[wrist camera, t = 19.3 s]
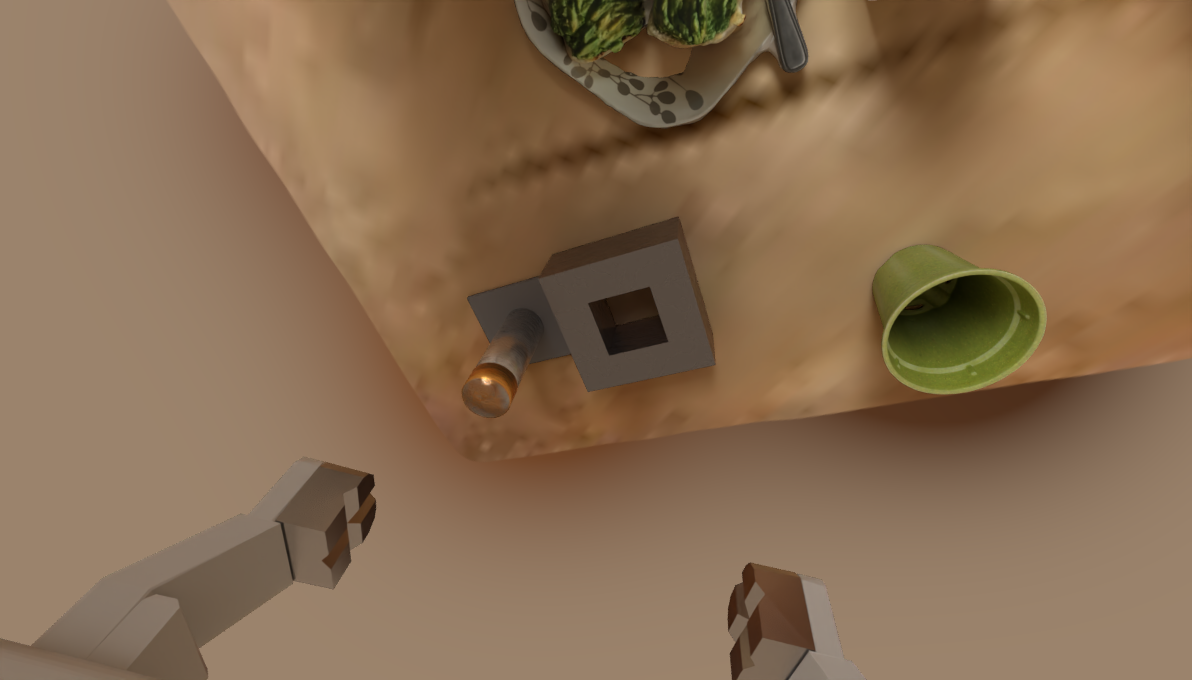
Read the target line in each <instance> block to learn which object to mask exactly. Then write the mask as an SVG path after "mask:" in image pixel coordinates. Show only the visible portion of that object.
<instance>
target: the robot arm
mask: <svg viewBox="0 0 1192 680" xmlns="http://www.w3.org/2000/svg"><path fill="white" fill-rule="evenodd" d="M374 486H375V482H374V475H372V474H369V473H366V472H362V471H358V470H354V469H350V468H346V467H343V466H339V465H335V464H332V463H328V462H324V461H320V460H316V459H312V458H307V457H302V458H301V459H299V460H297V461H296V462H295V463H294V464H293V465H292V466H291V467H290V468H289V470H288V471H287V472H286V473H285V474H284V475H283V476H282V477H281V478H280V480H279V481H278V482H277V483H276V484H275V485H274V487H272V488H271V490H270V491H269V492H268V493H267V494H266V495H265V496H264V497H263V499H262V500H261V501H260V502H259V503H258V504H257V505H256V506H255V508H254V509H253V510H252V511H251V512H250V513H249V514H248V515H245V514H239V515H237V516H235V517H233V518H230V519H228V520H226V521H224V522H222V523H220V524H217V525H216V526H213V527H211V528H209V529H207V530H205V531H202V532H200V533H198V534H196V535H194V536H192V537H189V538H187V539H185V540H183V541H181V542H179V543H176V544H174V545H172V546H170V547H168V548H166V549H164V550H161V551H159V552H157V553H155V554H153V555H151V556H149V557H147V558H144V559H142V560H140V561H138V562H136V563H133V564H131V565H129V566H127V567H125V568H123V569H120V570H118V571H116V572H114V573H112V574H110V575H108V576H105V577H103V578H102V579H101V580H100V581H99V582H98V583H96V584H95V585H94V586H93V587H92V588H91V589H90V590H89V591H88V592H87V593H86V594H85V595H84V596H83V597H82V598H81V599H80V600H79V601H78V602H77V603H75V605H73V606H72V607H71V608H70V609H69V610H68V611H67V612H66V613H65V614H64V615H63V616H62V617H61V618H60V619H59V620H57V622H55V623H54V625H52V626H51V627H50V628H49V629H48V630H47V631H46V632H45V633H44V634H43V635H42V636H41V637H40V638H39V639H38V640H37V641H35V643H33V644H32V645H31V646H29V645H25V644H21V643H17V642H13V641H9V640H5V639H1V638H0V680H207V679H208V670H207V667H206V665H205V662H204V660H203V658H202V655H201V653H200V651H199V648H200V647H202V646H203V645H205V644H206V643H208V642H209V641H210V640H212V639H213V638H215V637H216V636H218V635H219V634H221V633H222V632H223V631H225V630H226V629H228V628H229V627H231V626H232V625H234V624H235V623H236V622H238V621H239V620H241V619H242V618H243V617H245V616H247V615H248V614H249V613H251V612H252V611H254V610H255V609H257V608H258V607H260V606H261V605H263V604H264V603H265V602H267V601H268V600H270V599H271V598H273V597H274V596H276V595H277V594H278V593H280V592H281V591H283V590H284V589H286V588H287V587H288V586H290V585H291V584H293V581H297V582H302V583H306V584H311V585H315V586H320V587H325V588H329V589H334V588H335V586H336V585H337V583H338V582H339V580H340V578H341V577H342V575H343V574H344V572H345V570H346V569H347V567H348V565H349V564H350V562H351V555H350V550H351V549H353V548H355V547H357V546H358V545H360V544H362V543H363V541H364V540H365V538H366V536H367V535H368V533H369V531H370V529H371V526H372V523H373V521H374V518H375V513H376V499H375V498H374V497H373V496H372V495H371V494H370V492H371V490H372V489H373V488H374ZM742 578H743V582H742V583H740V584H737V585H735V587H734V590H733V592H732V594H731V597H730V602H729V607H728V632H729V633H730V635H731V636H732V638H733V639H734V641H735V642H736V643H735V645H734V647H733V648H732V650H731V652H730V662H731V674H732V680H866V678H865V677H864V676H863V675H862V674H861V672H860V671H859V669H858V668H857V667H856V666H855V664H854V663H853V662H852V661H850V660H846V659H844V655H843V651H842V648H841V644H840V640H839V636H838V632H837V628H836V624H835V620H834V616H833V612H832V609H831V604H830V600H829V597H828V593H827V589H826V585H825V583H824V582H823V580H822V579H818V578H814V577H810V576H805V575H801V574H796V573H795V572H791V571H786V570H781V569H777V568H772V567H768V566H763V565H759V564H754V563H748V564H747V565H746V566H745V568H744V570H743V572H742Z"/></svg>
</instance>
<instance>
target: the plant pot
mask: <svg viewBox="0 0 1192 680" xmlns="http://www.w3.org/2000/svg"><path fill="white" fill-rule="evenodd" d="M948 280H950V282H949V283H947V284H946V283H945V282H946V281H948ZM872 290H873V296H874V299H875V302H876V305H877V308H878V312H879V315H880V318H881V321H882V325H883V328H884V330H883V334H882V341H881V349H882V355H883V359H884V362H885V364H886V366H887V368H888V370H889V371H890V373H891V374H892V375H893V376H894V377H895V378H896V379H897V380H899V381H900V382H901V383H903V384H904V385H906V386H908V387H910V388H912V389H915V390H917V391H921V392H925V393H931V394H958V393H964V392H969V391H974V390H977V389H980V388H983V387H986V386H988V385H990V384H993V383H995V382H997V381H999V380H1001V379H1003V378H1005V377H1006V376H1008V375H1009V374H1011V373H1012V372H1014V371H1015V370H1017V369H1018V368H1019V367H1020V366H1021V365H1023V364H1024V363H1025V362H1026V361H1027V360H1028V359H1029V358H1030V356H1031V355H1032V354H1033V352H1034V351H1035V350H1036V348H1037V347H1038V345H1039V343H1040V341H1041V340H1042V337H1043V335H1044V332H1045V328H1046V320H1047V314H1046V308H1045V305H1044V302H1043V300H1042V298H1041V296H1040V294H1039V293H1038V292H1037V290H1036V289H1035V288H1034V287H1033V286H1032V285H1030V284H1029V283H1028V282H1027V281H1025V280H1024V279H1022V278H1020V277H1019V276H1016V275H1014V274H1012V273H1009V272H1006V271H1002V270H997V269H988V268H979V267H977V266H975V265H973V264H971V263H969V262H967V261H965V260H964V259H962V258H960V257H958V256H956V255H954V254H953V253H951V252H949V251H947V250H945V249H943V248H940V247H937V246H933V245H916V246H912V247H908V248H905V249H903V250H900V251H899V252H897V253H895V254H894V255H892V257H891V258H890V259H889V260H888V261H887V262H886V263H885V264H884V265H883V266H882V267H880V268H879V269H878V271H877V273H876V275H875V277H874V280H873V286H872ZM919 304H923V307H921V308H919V309H916V310H906V309H904V308H905V307H906V306H916V305H919Z"/></svg>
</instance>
